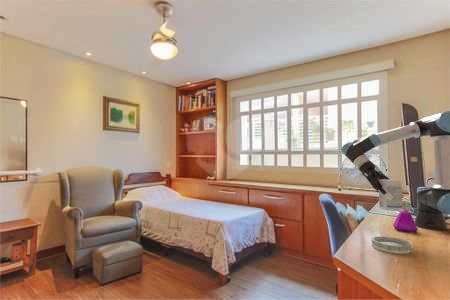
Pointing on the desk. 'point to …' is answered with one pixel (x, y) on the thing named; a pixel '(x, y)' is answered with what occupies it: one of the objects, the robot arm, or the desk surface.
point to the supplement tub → (394, 190)
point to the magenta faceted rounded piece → (405, 221)
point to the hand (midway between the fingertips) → (397, 198)
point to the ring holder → (391, 244)
